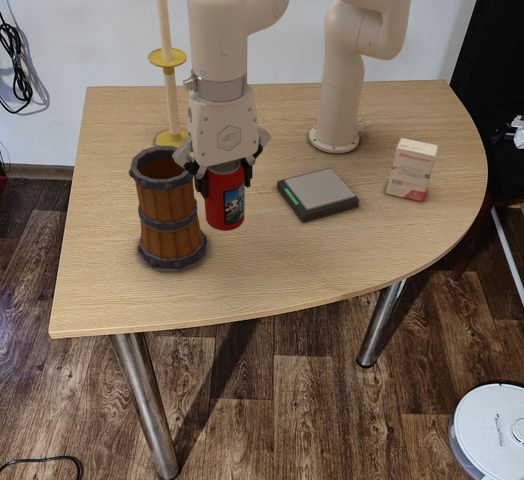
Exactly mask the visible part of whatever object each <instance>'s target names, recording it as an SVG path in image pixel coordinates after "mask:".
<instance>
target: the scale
mask: <svg viewBox="0 0 524 480" xmlns="http://www.w3.org/2000/svg"><path fill="white" fill-rule="evenodd" d="M276 190H277V191H278V192H279V193H280V195H281V196H282V198H283V199H284V200H285V201H286V203H287V205H289V207H290V208H291V209H292V210H293V212H294V213H295V214H296V216H297V217H298V219H299V220H300V222H302V223H306V222H310V221H313V220H318V219H320V218H324V217H328V216H331V215H334V214H335V215H336V214H338V213H342V212H345V211H348V210H353V209H356V208H359V203H360V199H359V197H358V196H357V195H356V194H355V193H354V192H353V191H352V190H351V189H350V187H349V186H348V185H347V184H346V183H345V181H343V179H342V178H341V177H340V176H339V175H338V174H337V173H336V171H335V170H334V169H333V168H332V167H327V168H324V169H319V170H315V171H311V172H308V173H303V174H300V175H295V176H292V177H288V178H284V179H280V180H277V181H276Z"/></svg>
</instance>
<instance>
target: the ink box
mask: <svg viewBox="0 0 524 480" xmlns="http://www.w3.org/2000/svg"><path fill="white" fill-rule="evenodd" d="M438 152H439V145H438V144H433V143H427V142H423V141H418V140H415V139H414V140H413V139H408V138H404V137H400V139H399V141H398V143H397V146H396V149H395V152H394V156H393V162H392V165H391V169H390V173H389V176H388V181H387V185H386V190H385V194H388V195H391V196H396V197H401V198H405V199H409V200H413V201H416V202H417V201H418V202H423V200H424V198H425V195H426V193H427V192H426V191H427V189H428V185H429V181H430V179H431V175H432V172H433V169H434V165H435V162H436V159H437V157H438Z"/></svg>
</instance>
